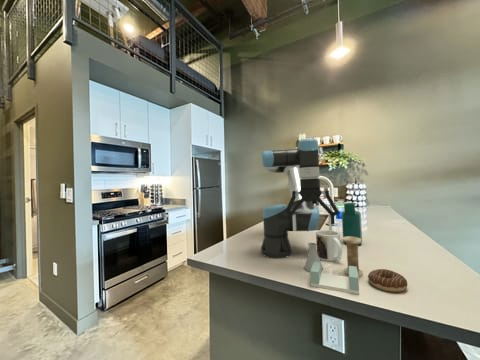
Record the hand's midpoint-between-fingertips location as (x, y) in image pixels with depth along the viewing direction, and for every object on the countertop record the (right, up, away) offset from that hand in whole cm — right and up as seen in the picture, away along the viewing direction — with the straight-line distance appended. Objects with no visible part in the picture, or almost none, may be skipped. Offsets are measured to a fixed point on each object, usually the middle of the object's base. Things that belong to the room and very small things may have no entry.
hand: (312, 231), depth 84 cm
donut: (+19, -14, -15) cm, 28 cm away
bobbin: (+13, -14, -6) cm, 20 cm away
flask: (+1, -15, 0) cm, 15 cm away
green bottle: (+32, -14, +29) cm, 45 cm away
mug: (+11, -15, +10) cm, 21 cm away
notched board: (+3, -15, -12) cm, 19 cm away
